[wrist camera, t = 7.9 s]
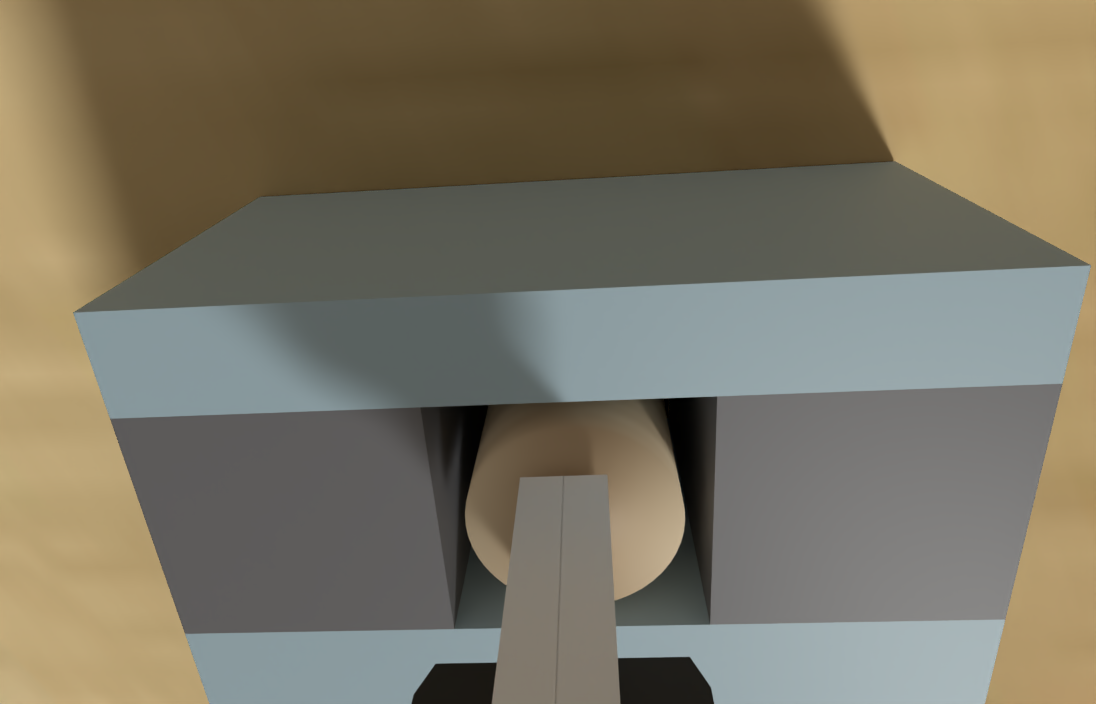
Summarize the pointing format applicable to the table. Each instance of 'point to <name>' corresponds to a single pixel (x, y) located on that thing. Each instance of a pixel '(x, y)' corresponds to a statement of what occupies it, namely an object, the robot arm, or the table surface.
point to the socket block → (597, 375)
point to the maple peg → (582, 449)
